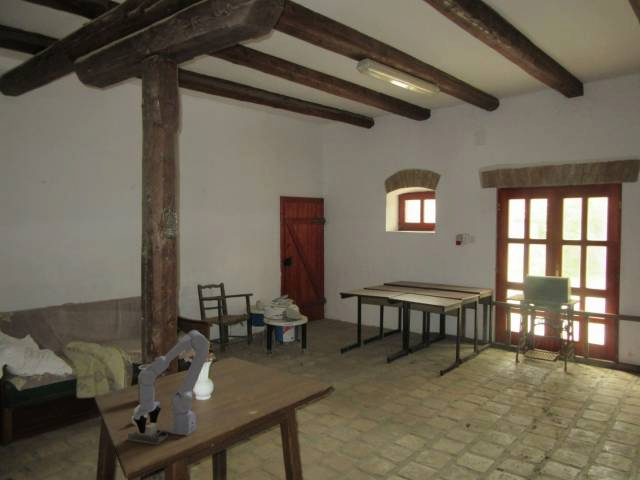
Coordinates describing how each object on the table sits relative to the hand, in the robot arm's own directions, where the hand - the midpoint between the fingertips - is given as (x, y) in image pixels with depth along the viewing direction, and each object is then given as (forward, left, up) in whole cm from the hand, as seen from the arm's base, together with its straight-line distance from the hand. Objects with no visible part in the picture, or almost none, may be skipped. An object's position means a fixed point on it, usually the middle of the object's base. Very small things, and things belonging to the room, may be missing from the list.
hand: (147, 428), depth 203 cm
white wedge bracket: (+13, -12, -4) cm, 19 cm away
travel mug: (+25, -34, -4) cm, 43 cm away
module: (0, 0, -3) cm, 3 cm away
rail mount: (0, 0, -4) cm, 4 cm away
